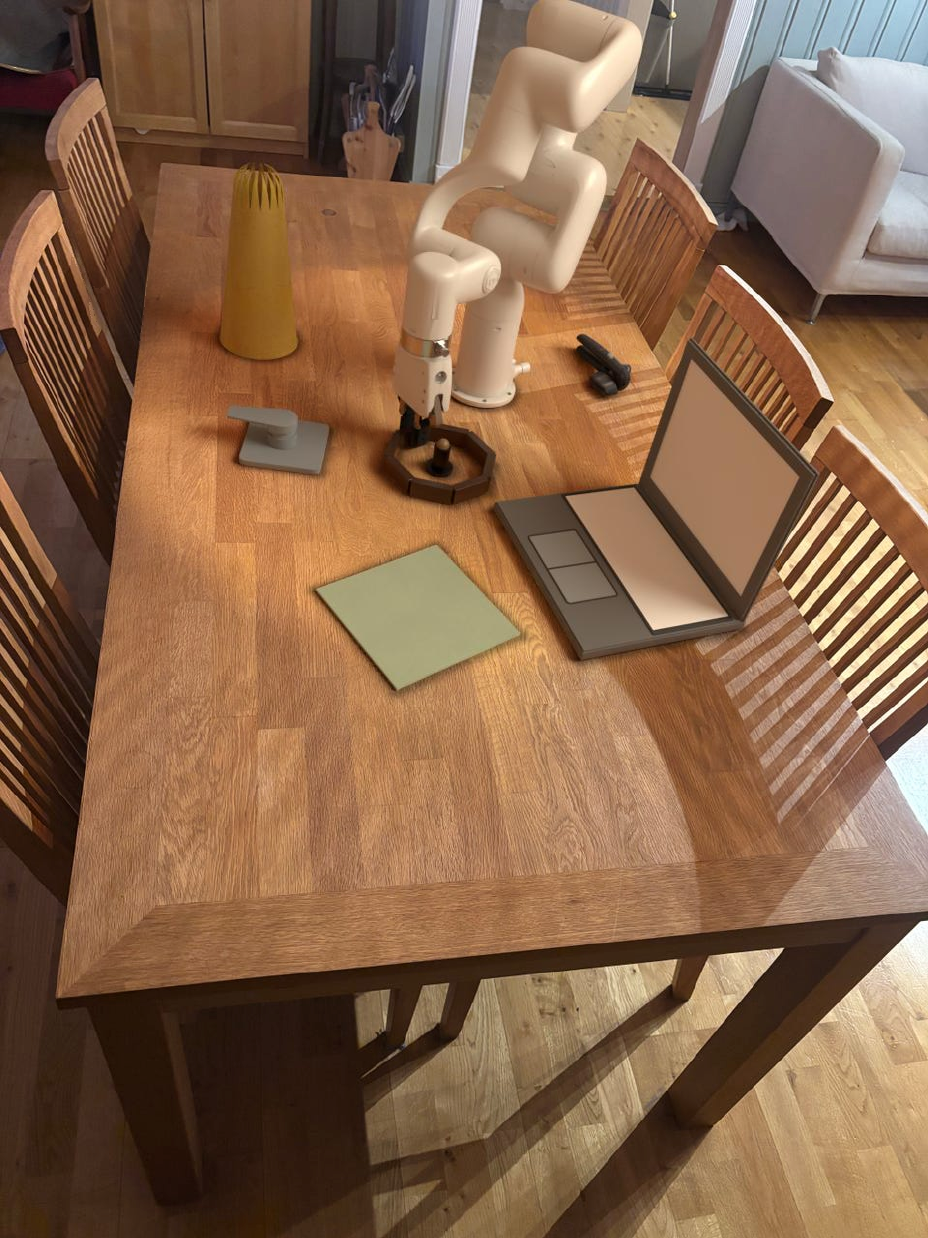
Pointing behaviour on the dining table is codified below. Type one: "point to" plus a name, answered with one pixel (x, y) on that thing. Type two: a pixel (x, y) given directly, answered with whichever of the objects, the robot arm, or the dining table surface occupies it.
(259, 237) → the piping tip
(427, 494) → the hanging ring
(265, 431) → the shower valve
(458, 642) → the sage mat
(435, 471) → the post
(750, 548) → the laptop
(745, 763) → the dining table surface
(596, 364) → the can opener
